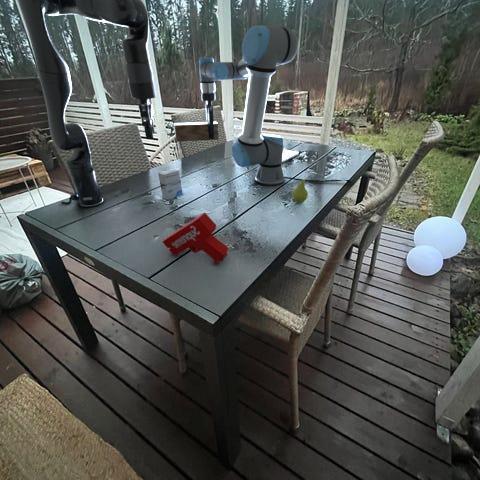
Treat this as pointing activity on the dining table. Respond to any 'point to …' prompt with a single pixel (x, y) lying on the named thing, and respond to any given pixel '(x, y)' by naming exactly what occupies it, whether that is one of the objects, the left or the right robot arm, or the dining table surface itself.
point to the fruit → (300, 192)
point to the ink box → (170, 183)
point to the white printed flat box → (288, 154)
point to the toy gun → (197, 239)
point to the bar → (194, 131)
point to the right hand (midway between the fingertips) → (210, 137)
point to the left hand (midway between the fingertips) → (150, 136)
